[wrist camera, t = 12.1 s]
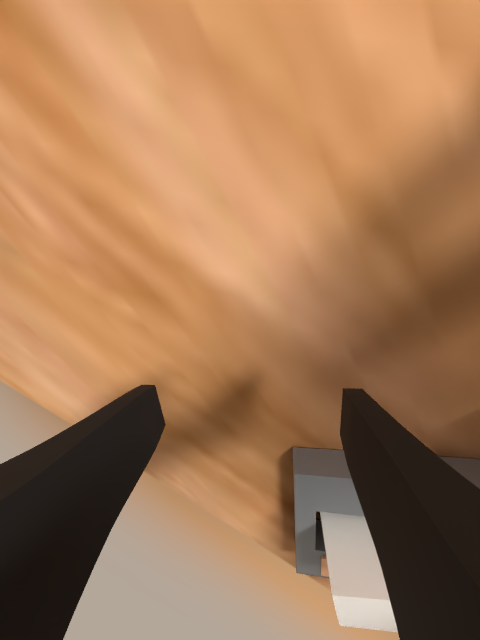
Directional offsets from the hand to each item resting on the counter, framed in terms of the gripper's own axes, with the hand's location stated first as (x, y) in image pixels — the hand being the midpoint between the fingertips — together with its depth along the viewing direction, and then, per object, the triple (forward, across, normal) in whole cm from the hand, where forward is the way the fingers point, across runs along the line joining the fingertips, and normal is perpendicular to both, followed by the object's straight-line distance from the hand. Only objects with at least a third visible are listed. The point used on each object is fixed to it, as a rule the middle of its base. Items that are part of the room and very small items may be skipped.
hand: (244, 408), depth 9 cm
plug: (+9, -6, +19) cm, 22 cm away
